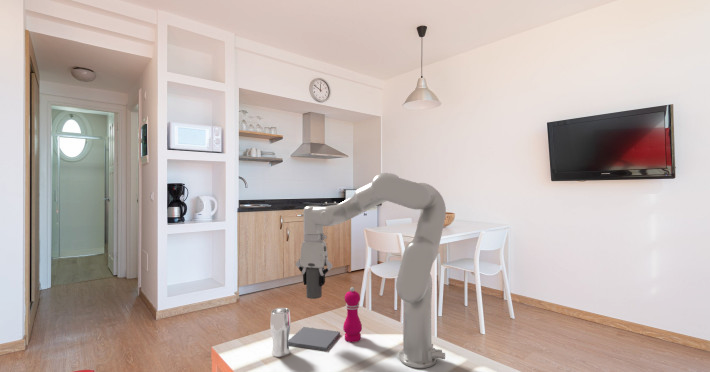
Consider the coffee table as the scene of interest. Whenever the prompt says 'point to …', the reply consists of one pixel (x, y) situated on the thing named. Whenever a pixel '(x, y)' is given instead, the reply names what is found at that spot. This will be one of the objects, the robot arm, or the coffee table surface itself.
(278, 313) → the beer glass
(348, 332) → the pepper mill
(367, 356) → the coffee table surface
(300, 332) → the mat
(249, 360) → the coffee table surface
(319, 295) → the bottle
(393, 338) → the coffee table surface
